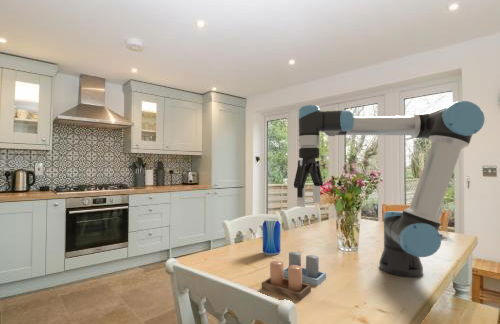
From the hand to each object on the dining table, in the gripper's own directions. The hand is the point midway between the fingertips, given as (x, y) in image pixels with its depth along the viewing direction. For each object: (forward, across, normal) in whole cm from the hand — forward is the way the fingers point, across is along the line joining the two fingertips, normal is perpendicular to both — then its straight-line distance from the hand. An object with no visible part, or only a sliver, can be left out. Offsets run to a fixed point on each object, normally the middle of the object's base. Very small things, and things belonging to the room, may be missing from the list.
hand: (309, 204), depth 104 cm
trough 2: (+27, +3, -1) cm, 27 cm away
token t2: (+26, +16, +2) cm, 31 cm away
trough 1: (+27, +16, -1) cm, 31 cm away
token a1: (+26, +16, -4) cm, 31 cm away
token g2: (+26, +3, +2) cm, 26 cm away
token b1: (+26, +3, -4) cm, 27 cm away
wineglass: (+27, -106, +33) cm, 114 cm away
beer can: (+27, -15, -26) cm, 40 cm away
